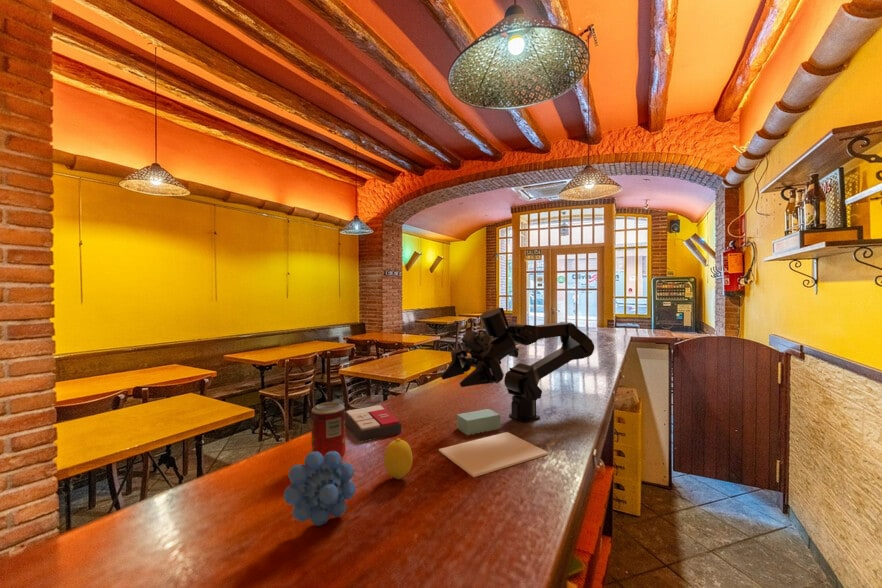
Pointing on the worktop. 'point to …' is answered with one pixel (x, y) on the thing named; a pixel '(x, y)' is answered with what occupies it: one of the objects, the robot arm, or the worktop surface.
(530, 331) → the robot arm
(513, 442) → the mat
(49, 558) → the worktop surface
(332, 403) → the soda can
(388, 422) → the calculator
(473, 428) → the grey-green block
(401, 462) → the lemon
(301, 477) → the blue knobbed flower
